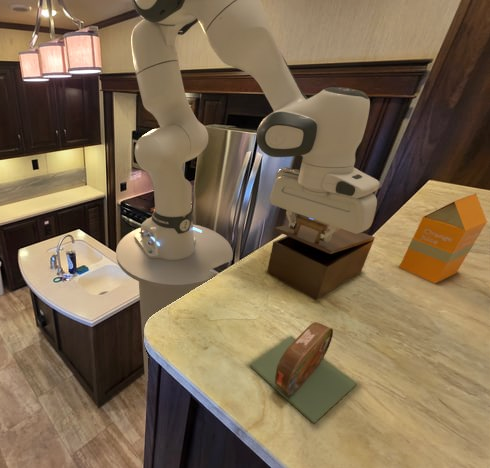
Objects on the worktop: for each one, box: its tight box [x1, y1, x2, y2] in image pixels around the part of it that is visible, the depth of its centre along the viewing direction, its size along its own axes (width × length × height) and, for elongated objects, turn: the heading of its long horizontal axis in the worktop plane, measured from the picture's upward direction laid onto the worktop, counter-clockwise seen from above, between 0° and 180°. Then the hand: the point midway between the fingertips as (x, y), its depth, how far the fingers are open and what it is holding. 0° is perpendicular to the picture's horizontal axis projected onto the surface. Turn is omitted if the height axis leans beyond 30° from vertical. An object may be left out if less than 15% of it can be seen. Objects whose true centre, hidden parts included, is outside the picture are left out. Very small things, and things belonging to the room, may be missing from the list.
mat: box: [249, 336, 358, 425], centre depth 51 cm, size 12×12×1 cm
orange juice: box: [398, 193, 488, 284], centre depth 68 cm, size 8×9×20 cm
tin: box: [275, 321, 334, 395], centre depth 49 cm, size 15×3×8 cm, turn 126°
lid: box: [274, 215, 376, 254], centre depth 69 cm, size 20×13×5 cm, turn 120°
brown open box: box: [266, 235, 375, 301], centre depth 73 cm, size 19×13×10 cm
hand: (308, 234), depth 66 cm, fingers closed on lid, 6 cm apart
